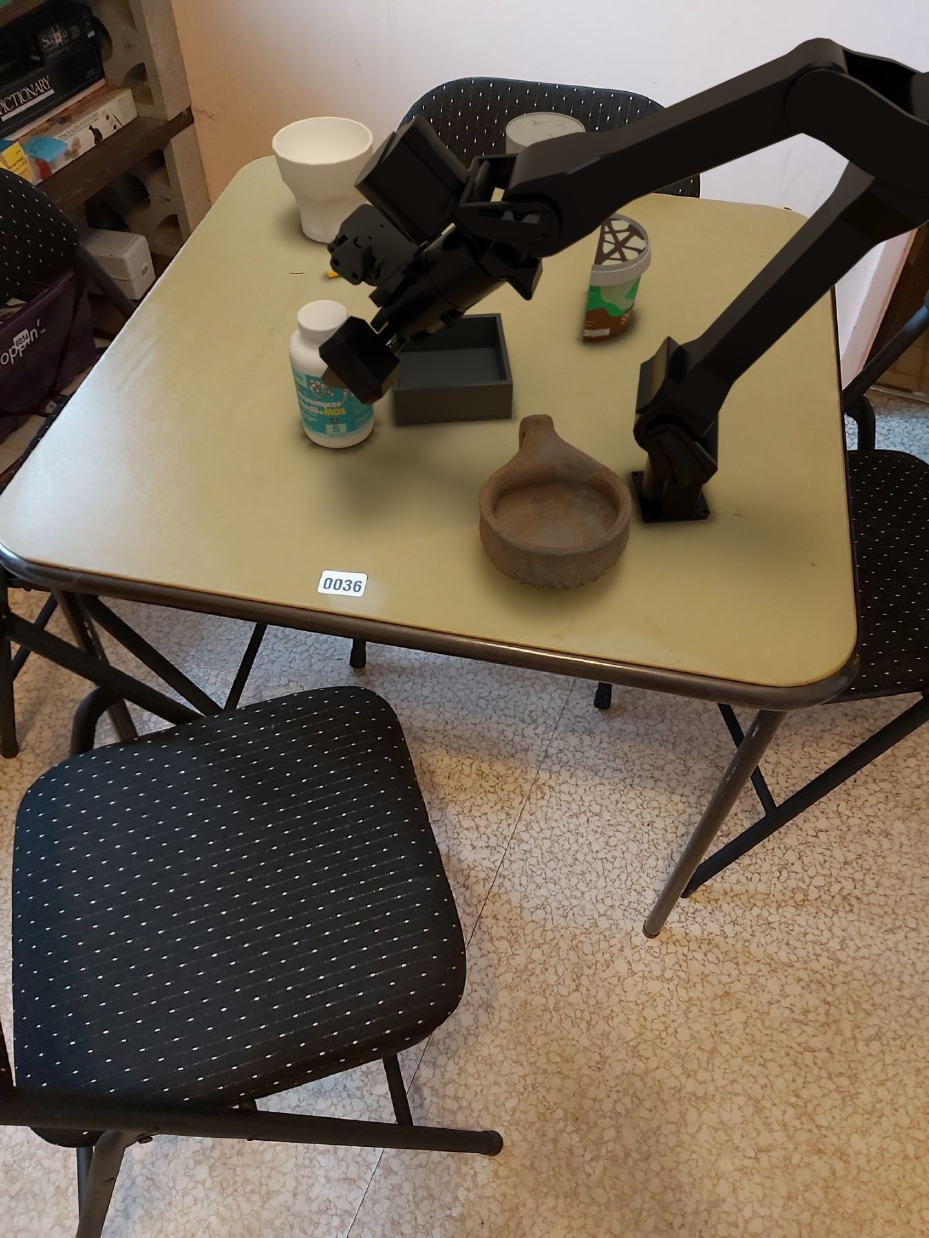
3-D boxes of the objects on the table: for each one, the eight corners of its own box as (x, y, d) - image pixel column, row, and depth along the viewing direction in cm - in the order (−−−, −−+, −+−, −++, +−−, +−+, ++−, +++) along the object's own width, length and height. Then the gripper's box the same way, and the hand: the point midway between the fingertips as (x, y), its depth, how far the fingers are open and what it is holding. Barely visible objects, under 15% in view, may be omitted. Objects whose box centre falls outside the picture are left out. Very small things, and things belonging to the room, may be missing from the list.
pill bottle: (290, 437, 87) (264, 324, 76) (329, 396, 91) (310, 282, 80) (351, 460, 85) (333, 347, 74) (388, 417, 89) (377, 303, 78)
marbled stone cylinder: (494, 241, 109) (496, 142, 99) (513, 205, 114) (517, 108, 104) (566, 253, 107) (575, 153, 97) (581, 215, 113) (592, 117, 103)
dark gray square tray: (511, 418, 89) (513, 383, 85) (396, 424, 88) (393, 390, 84) (499, 347, 96) (500, 312, 92) (392, 353, 95) (389, 318, 92)
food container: (635, 355, 95) (650, 274, 87) (580, 349, 95) (591, 267, 87) (643, 293, 102) (658, 213, 94) (592, 288, 103) (603, 207, 94)
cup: (279, 211, 114) (263, 124, 105) (368, 196, 116) (360, 110, 107) (296, 259, 107) (281, 170, 98) (391, 242, 109) (384, 154, 100)
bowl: (426, 483, 81) (452, 396, 74) (552, 480, 87) (587, 399, 79) (491, 623, 71) (527, 538, 64) (629, 608, 76) (676, 529, 69)
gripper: (440, 136, 69) (340, 234, 81) (323, 248, 59) (229, 341, 71) (522, 249, 74) (416, 326, 85) (426, 370, 64) (321, 439, 75)
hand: (350, 353), depth 79 cm, fingers open, 9 cm apart
